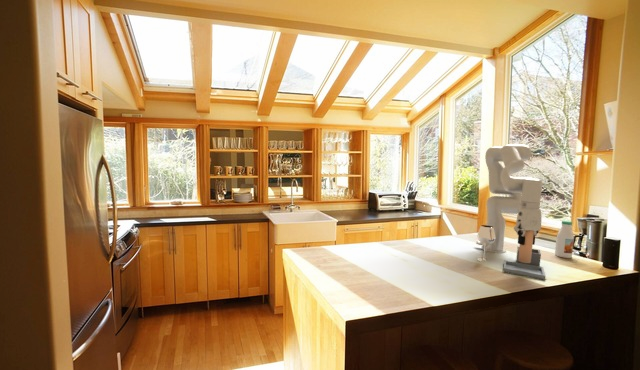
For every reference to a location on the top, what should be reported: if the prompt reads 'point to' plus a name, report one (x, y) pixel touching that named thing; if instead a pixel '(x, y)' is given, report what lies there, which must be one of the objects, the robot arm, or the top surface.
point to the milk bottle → (565, 240)
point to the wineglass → (486, 237)
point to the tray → (524, 270)
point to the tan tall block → (526, 248)
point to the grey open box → (534, 257)
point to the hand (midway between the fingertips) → (526, 243)
